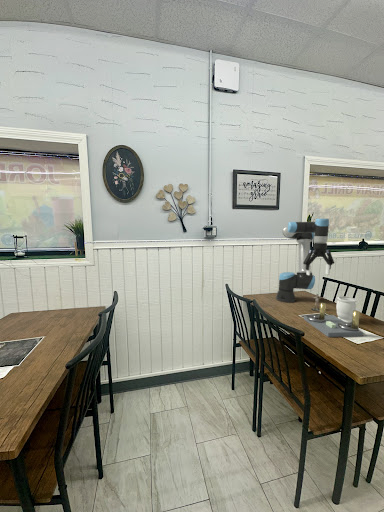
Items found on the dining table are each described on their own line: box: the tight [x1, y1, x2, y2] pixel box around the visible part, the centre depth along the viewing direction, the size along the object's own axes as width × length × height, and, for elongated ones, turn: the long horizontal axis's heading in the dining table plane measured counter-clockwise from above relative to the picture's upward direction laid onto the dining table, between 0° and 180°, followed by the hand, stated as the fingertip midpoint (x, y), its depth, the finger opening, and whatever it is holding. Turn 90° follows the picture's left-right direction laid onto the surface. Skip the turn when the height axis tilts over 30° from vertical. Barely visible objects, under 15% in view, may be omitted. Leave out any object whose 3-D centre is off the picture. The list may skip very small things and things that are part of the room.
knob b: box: [338, 309, 361, 331], centre depth 127 cm, size 10×10×11 cm
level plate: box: [303, 314, 363, 338], centre depth 133 cm, size 24×20×5 cm
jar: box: [335, 295, 357, 324], centre depth 142 cm, size 11×10×15 cm
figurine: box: [308, 293, 324, 313], centre depth 161 cm, size 11×7×12 cm, turn 79°
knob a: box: [306, 302, 327, 322], centre depth 138 cm, size 10×10×11 cm
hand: (317, 274), depth 143 cm, fingers open, 13 cm apart
